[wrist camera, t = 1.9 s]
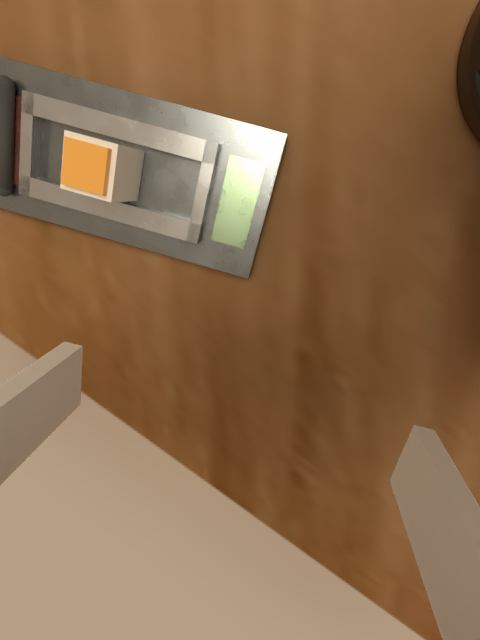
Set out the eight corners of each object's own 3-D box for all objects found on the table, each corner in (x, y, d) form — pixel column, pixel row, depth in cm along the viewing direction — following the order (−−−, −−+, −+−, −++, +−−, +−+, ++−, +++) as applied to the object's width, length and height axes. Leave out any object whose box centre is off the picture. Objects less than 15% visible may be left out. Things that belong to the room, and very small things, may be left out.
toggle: (99, 138, 30) (59, 128, 25) (144, 151, 30) (114, 143, 25) (93, 188, 32) (55, 188, 27) (137, 200, 32) (107, 202, 26)
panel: (-6, 58, 31) (-37, 44, 28) (287, 137, 30) (287, 131, 27) (-7, 200, 36) (-34, 201, 33) (250, 274, 35) (246, 281, 32)
